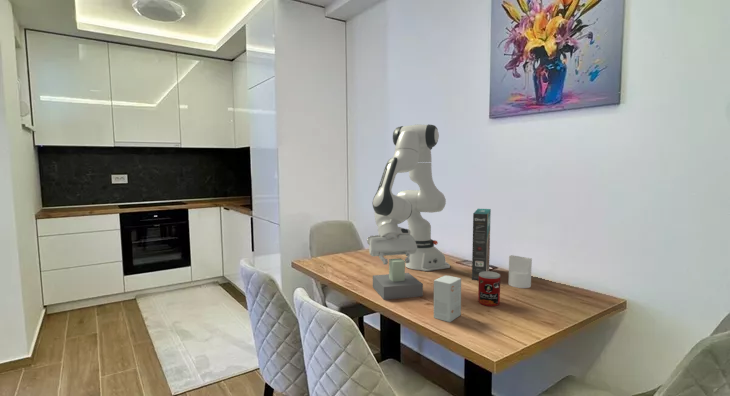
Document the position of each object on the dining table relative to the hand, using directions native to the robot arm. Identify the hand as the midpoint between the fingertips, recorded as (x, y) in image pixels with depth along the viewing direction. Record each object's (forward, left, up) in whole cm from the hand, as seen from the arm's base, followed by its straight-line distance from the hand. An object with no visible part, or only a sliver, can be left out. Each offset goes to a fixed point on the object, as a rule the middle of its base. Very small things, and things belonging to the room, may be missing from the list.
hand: (397, 263), depth 153 cm
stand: (0, 0, -12) cm, 12 cm away
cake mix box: (-47, -14, -12) cm, 51 cm away
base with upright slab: (-54, +5, -12) cm, 56 cm away
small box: (-8, +29, -12) cm, 32 cm away
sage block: (0, 0, -7) cm, 7 cm away
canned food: (-29, +21, -12) cm, 38 cm away
